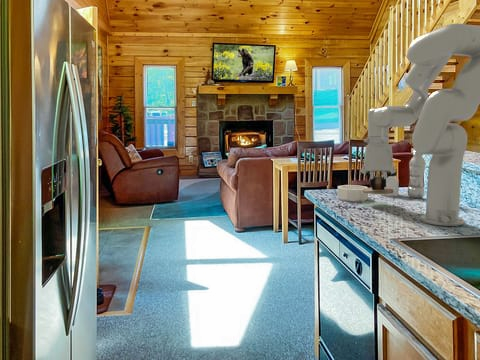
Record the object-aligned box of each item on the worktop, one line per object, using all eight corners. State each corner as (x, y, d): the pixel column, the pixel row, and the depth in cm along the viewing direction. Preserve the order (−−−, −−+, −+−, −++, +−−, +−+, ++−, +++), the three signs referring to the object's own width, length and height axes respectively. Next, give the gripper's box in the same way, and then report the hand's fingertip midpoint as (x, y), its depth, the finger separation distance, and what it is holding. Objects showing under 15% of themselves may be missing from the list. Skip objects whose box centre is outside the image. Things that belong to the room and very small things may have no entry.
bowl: (368, 202, 162) (369, 190, 161) (337, 201, 164) (338, 189, 163) (365, 196, 173) (366, 185, 172) (337, 196, 176) (337, 184, 175)
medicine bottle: (398, 196, 173) (399, 169, 171) (380, 196, 174) (382, 168, 172) (395, 193, 180) (396, 167, 178) (378, 193, 181) (379, 166, 179)
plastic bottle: (420, 196, 172) (423, 150, 169) (426, 199, 165) (429, 151, 162) (405, 196, 173) (407, 150, 170) (410, 199, 166) (412, 151, 163)
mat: (390, 208, 150) (390, 207, 150) (362, 207, 153) (362, 206, 152) (386, 202, 160) (387, 202, 160) (360, 202, 162) (360, 201, 162)
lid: (395, 194, 148) (395, 177, 147) (364, 194, 150) (364, 178, 150) (390, 189, 159) (391, 174, 158) (361, 190, 161) (361, 175, 160)
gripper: (356, 142, 151) (356, 190, 152) (402, 140, 147) (402, 190, 149) (355, 141, 158) (355, 188, 160) (399, 140, 154) (398, 187, 156)
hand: (378, 188), depth 154 cm, fingers closed on lid, 3 cm apart
